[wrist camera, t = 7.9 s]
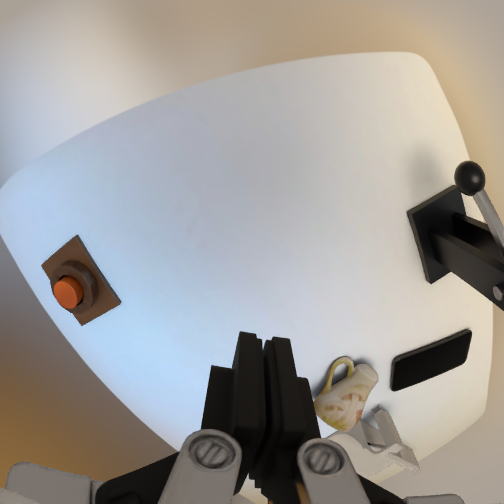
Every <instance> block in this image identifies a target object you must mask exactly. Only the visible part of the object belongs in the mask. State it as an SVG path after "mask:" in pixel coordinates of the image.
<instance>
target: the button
mask: <svg viewBox="0 0 504 504" xmlns="http://www.w3.org/2000/svg"><path fill="white" fill-rule="evenodd" d="M54 295H55V297H56V299H57V301H58V302H59V303H60V304H61V305H62V306H63V307H65V308H68V309H70V308H74V307H75V306H76V305H77V304H78V303H79V302H80V301H81V300H82V298H83V289H82V286H81V285H80V283H79V282H78V281H77V280H76V279H75V278H73V277H71V276H65V277H64V278H62V279H61V280H60V281H58V282H57V283H56V284H55V286H54Z"/></svg>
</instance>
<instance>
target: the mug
mask: <svg viewBox="0 0 504 504" xmlns="http://www.w3.org/2000/svg"><path fill="white" fill-rule="evenodd" d="M341 363H345V364H347V365H348V367H349V369H348V372H347V377H346V378H344V379H343V380H341V381H340V382H338V383H336V384H334V385H332V386H331V383H332V377H333V373H334V370H335V368H336V367H337V366H338V365H339V364H341ZM377 382H378V374H377V372H376V371H375V370H374V369H373V368H372V367H370V366H369V365H367V364H359V365H357V366H356V367H354V364H353V361H352V360H351V359H350V358H349V357H341V358H339V359H338V360H336V361H335V362H334V363H333V364H332V366H331V368H330V371H329V374H328V378H327V381H326V384H325V386H324V388H323V389H322V391H321V393H320V394H319V395H318V396H317V397H316V399H315V400H314V402H313V403H314V408H315V412H316V415H317V416H318V417H319V418H321V419H322V420H323V421H324V422H325V423H327V424H328V425H330V426H331V427H333V428H335V429H337V430H339V431H342V432H348V431H349V430H350V429H352V428H353V427H354V426H355V425H356V424H357V422H358V421H359V419H360V417H361V415H362V412H363V409H364V406H365V403H366V400H367V398H368V395H369V393H370V392H371V390H372V389H373V388H374V386H375V385H376V383H377Z"/></svg>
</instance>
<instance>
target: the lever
mask: <svg viewBox="0 0 504 504" xmlns="http://www.w3.org/2000/svg"><path fill="white" fill-rule="evenodd" d="M454 179H455V184H456V186H457V188H458V189H459V190H460V191H461V192H462V193H463V194H465V195H467V196H473V198H474V200H475V202H476V203H477V205H478V207H479V209H480V211H481V213H482V215H483V217H484V219H485V221H486V223H487V225H488V227H489V229H490V231H491V233H492V235H493V237H494V239H495V242H496V244H497V246H498V248H499V251H500V253H501V255H502V258H503V260H504V227H503V224H502V222H501V220H500V218H499V217H498V214H497V212H496V211H495V209H494V207H493V205H492V203H491V201H490V199H489V197H488V195H487V193H486V192H485V190H484V186H485V174H484V172H483V170H482V168H481V167H480V166H479V165H478V164H477V163H475V162H473V161H464V162H462V163H460V164H459V165H458V167H457V168H456V170H455V174H454Z"/></svg>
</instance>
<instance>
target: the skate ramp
mask: <svg viewBox="0 0 504 504" xmlns="http://www.w3.org/2000/svg"><path fill="white" fill-rule="evenodd" d="M379 406H380V405H379ZM380 409H381V407H380ZM372 410H373V409H372ZM387 412H388V410H387ZM373 413H374V411H373ZM374 417H375V419H376V422H377V424H378V427H379V430H380V431H379V430H377V429H376V428H374V427H372V426H371V425H369V424H368V423H366V422H364V421H363V420H361V419H359V421H358V422H357V424H356V425H355V426H354V427H353V428H352V429H350V430H349V431H348V432H342V431H337V432H335V433H334V434H332V435H330V436H329V437H327V438H325V439H329V440H332V441H334V442H336V443H338V444H340V445H341V446H342V447H343V448H344V449H345V450H346V452H347V453H348V455H349V458H350V460H351V462H352V464H353V466H354V468H355V471H356V473H358V474H359V475H361V476H363V477H364V478H366V479H367V478H368V477H370V476H372V475H374V474H376V473H378V472H379V471H381V470H383V469H385V468H386V467H388V466H390V465H392V464H397V465H399V466H401V467H404V468H406V469H409V470H412V471H414V470H416V469H418V468H419V464H418V462H417V460H416V457H415V455H414V453H413V451H412V449H410V448H408V447H406V446H405V445H403V443H402V441H401V438H400V436H399V434H398V431H397V429H396V427H395V425H394V422H393V420H392V418H391V416H390V415H389V413H386V412H385V411H384V410H382V409H381V410H380V411H378V412H377V413H374ZM367 442H368V443H370V444H371V445H370V446H369V445H368V444H367ZM420 471H421V470H420Z"/></svg>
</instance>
